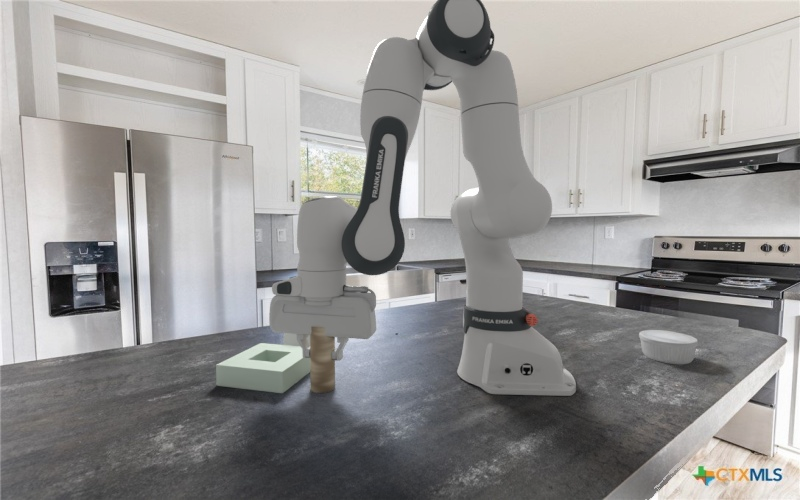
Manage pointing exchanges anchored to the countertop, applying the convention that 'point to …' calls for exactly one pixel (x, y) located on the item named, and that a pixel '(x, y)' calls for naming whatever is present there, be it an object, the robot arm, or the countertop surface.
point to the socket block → (264, 368)
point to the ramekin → (668, 346)
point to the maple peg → (321, 361)
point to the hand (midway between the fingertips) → (322, 358)
